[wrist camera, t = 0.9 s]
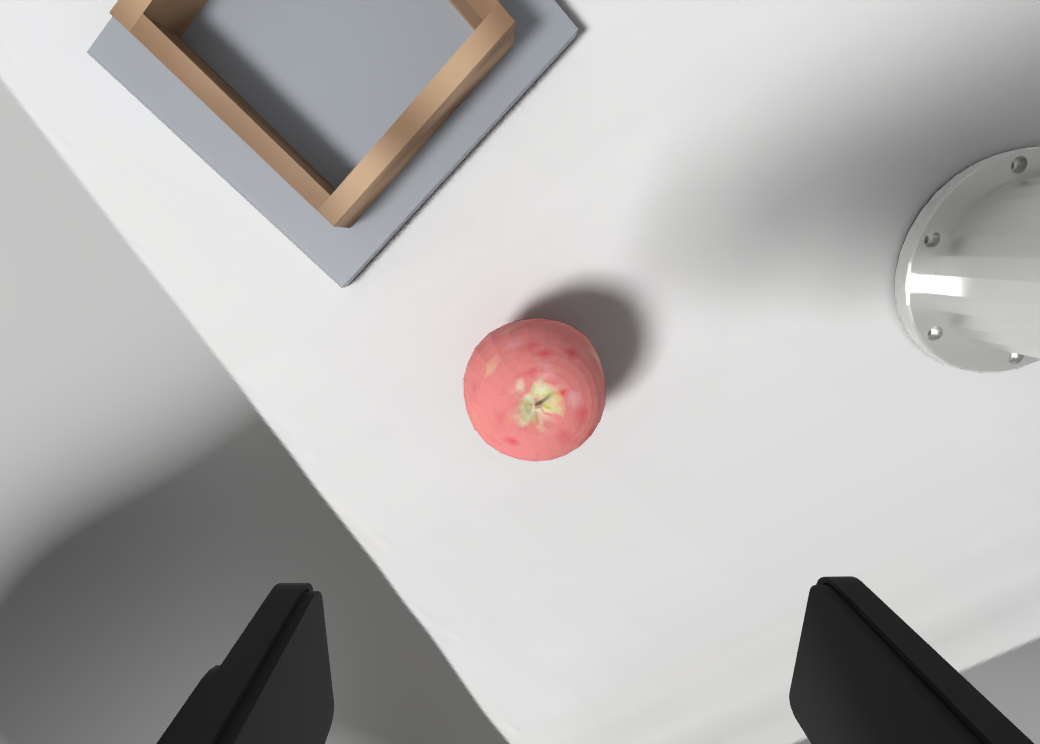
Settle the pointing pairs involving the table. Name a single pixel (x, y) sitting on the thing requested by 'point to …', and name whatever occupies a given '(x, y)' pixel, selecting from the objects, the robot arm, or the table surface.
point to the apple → (535, 389)
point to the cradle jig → (332, 99)
